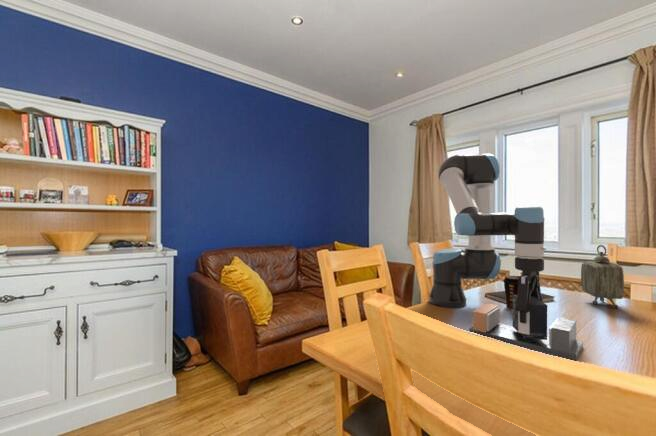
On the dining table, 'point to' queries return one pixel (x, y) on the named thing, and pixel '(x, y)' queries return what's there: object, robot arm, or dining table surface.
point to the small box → (533, 318)
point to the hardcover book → (501, 296)
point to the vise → (557, 342)
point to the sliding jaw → (486, 317)
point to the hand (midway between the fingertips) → (529, 327)
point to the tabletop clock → (602, 278)
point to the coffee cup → (510, 290)
